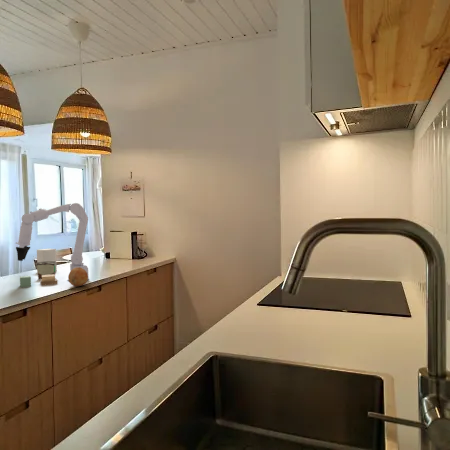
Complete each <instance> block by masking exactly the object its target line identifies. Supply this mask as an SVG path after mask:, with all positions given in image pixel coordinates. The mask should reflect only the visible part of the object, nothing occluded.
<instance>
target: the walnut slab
mask: <svg viewBox="0 0 450 450" xmlns="http://www.w3.org/2000/svg"><path fill="white" fill-rule="evenodd" d="M39 281H40V285H41V286H50V285H58V284H59V283H58V279H57V278H56V277H55V281H44V282H42V279H39Z"/></svg>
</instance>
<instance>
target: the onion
mask: <svg viewBox="0 0 450 450" xmlns="http://www.w3.org/2000/svg"><path fill="white" fill-rule="evenodd" d="M88 276H89V273H88V274H87V272H86V271H85V270H84V269H83V268H80V267H77V268H74V269H72V270H71V271H70V272H69V273H68V279H67V280H69V281H68V283H69V284H70V285H72V286H73V287H80V286H84V285H86V283H87V281H88Z"/></svg>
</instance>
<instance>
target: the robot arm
mask: <svg viewBox="0 0 450 450" xmlns="http://www.w3.org/2000/svg"><path fill="white" fill-rule="evenodd" d="M63 212H66V213H70V212H71V214H73V215H74V216H76V218H77V220H78V221H79V222H78V226H77V232H76V238H75V241H74V242H75V243H74V248H73V249H74V250H73V252H72V254H71V255H70V262H71V263H70V265H69V267H70V271H71V270H72V269H74V268H77V267H80V268H83V269H84V270H85V271H86V272H87V274H88V280H90V277H89V267H88V266H87V265H85V264H84V262H83V260H84V258H83V249H84V245H85V244H84V243H85V240H86V239H85V238H86V233H87V228H88V221H89V217H88V215H87V213H86V211H85V208H84V207H83V206H82V205H81V204H80V203H78V202H73V203H66V204H62V205H59V206H56V207H53V208H50V209H46V208H41V207H40V208H38V209H37V210H35V211H34V210H33V211H29V212H28V213H27V212H26V213H24V214H22V216H21V221H22V222H21V224H20V228H19V236H18V241H17V242H15V244H17V245H19V246H16V247H15V250H16V253H17V261H19V262H22V261H23V260H24V261H25V260H26V258H27V256H28V255H27V254H28V253H29V251H30V249H31V240H32V239H31V238H32V232H33V223H34V222H39V221H44V220H46V219H48V218H49V216H52V215H55V214H59V213H63ZM88 280H87V281H88ZM66 281H67V282H69V279H67V280H66Z"/></svg>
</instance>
